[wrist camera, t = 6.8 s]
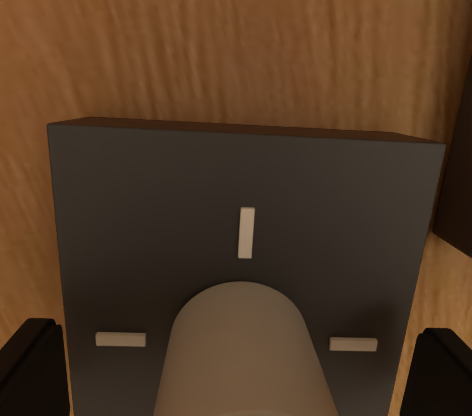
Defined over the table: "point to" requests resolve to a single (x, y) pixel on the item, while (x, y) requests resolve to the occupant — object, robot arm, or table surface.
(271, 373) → the temp dial
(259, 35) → the table surface
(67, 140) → the dial console
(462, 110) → the grey piece
